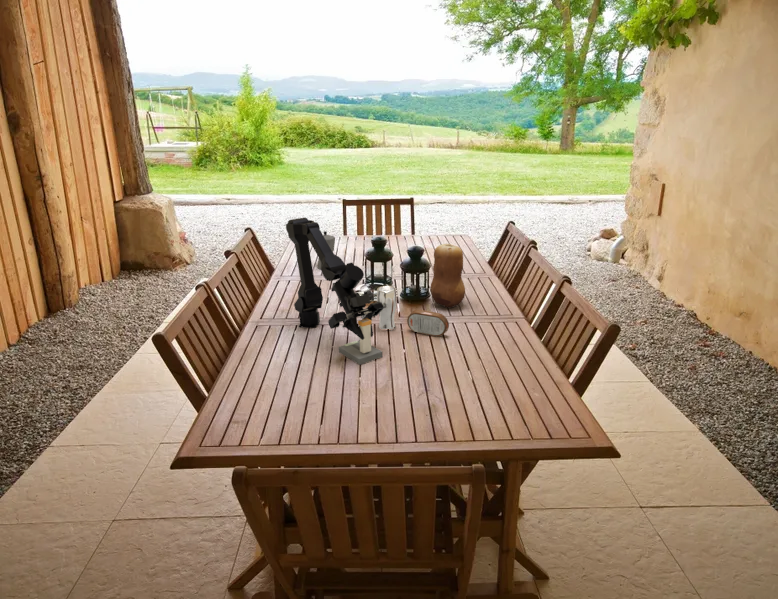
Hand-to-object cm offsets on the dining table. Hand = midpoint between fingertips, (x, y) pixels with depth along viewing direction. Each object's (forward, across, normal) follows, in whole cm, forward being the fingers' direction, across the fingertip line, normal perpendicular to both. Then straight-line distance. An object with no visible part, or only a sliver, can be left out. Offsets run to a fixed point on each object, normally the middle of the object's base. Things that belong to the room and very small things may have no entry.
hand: (367, 337), depth 184 cm
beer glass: (-6, +20, +17) cm, 28 cm away
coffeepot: (-61, +43, +72) cm, 104 cm away
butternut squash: (-8, +53, +19) cm, 57 cm away
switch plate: (+2, 0, +8) cm, 9 cm away
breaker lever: (+3, 0, +5) cm, 5 cm away
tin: (+3, +28, +8) cm, 30 cm away
